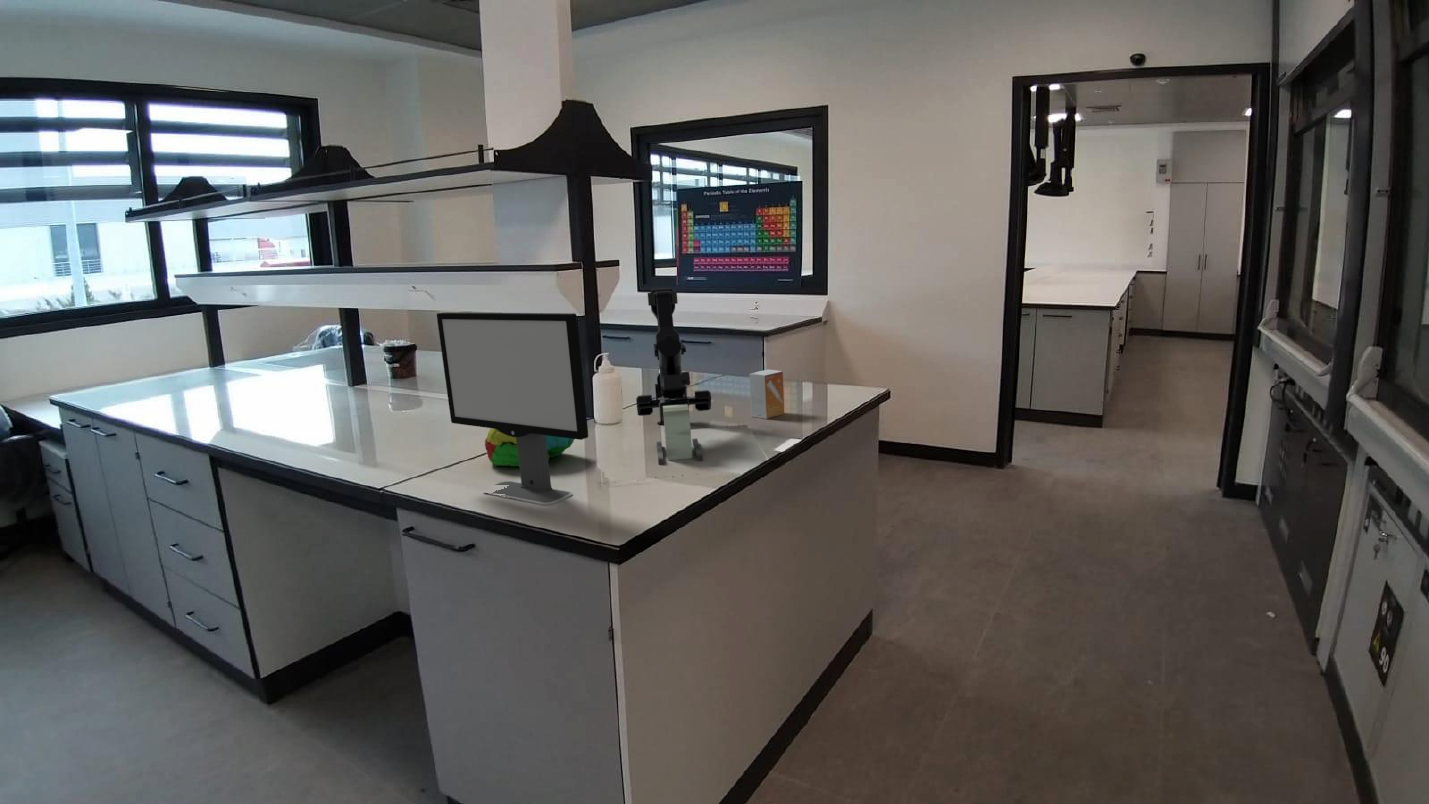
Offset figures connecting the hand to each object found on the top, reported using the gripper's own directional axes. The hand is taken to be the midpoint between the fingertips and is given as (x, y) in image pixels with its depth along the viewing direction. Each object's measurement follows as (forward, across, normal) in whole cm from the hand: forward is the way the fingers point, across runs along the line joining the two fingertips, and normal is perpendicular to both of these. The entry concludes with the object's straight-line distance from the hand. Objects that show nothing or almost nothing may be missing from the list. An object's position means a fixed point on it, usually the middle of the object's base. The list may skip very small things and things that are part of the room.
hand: (676, 431), depth 193 cm
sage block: (+7, 0, 0) cm, 7 cm away
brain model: (0, -37, +10) cm, 38 cm away
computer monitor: (+18, -35, -9) cm, 40 cm away
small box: (-20, +28, +30) cm, 46 cm away
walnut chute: (+6, 0, +3) cm, 7 cm away
